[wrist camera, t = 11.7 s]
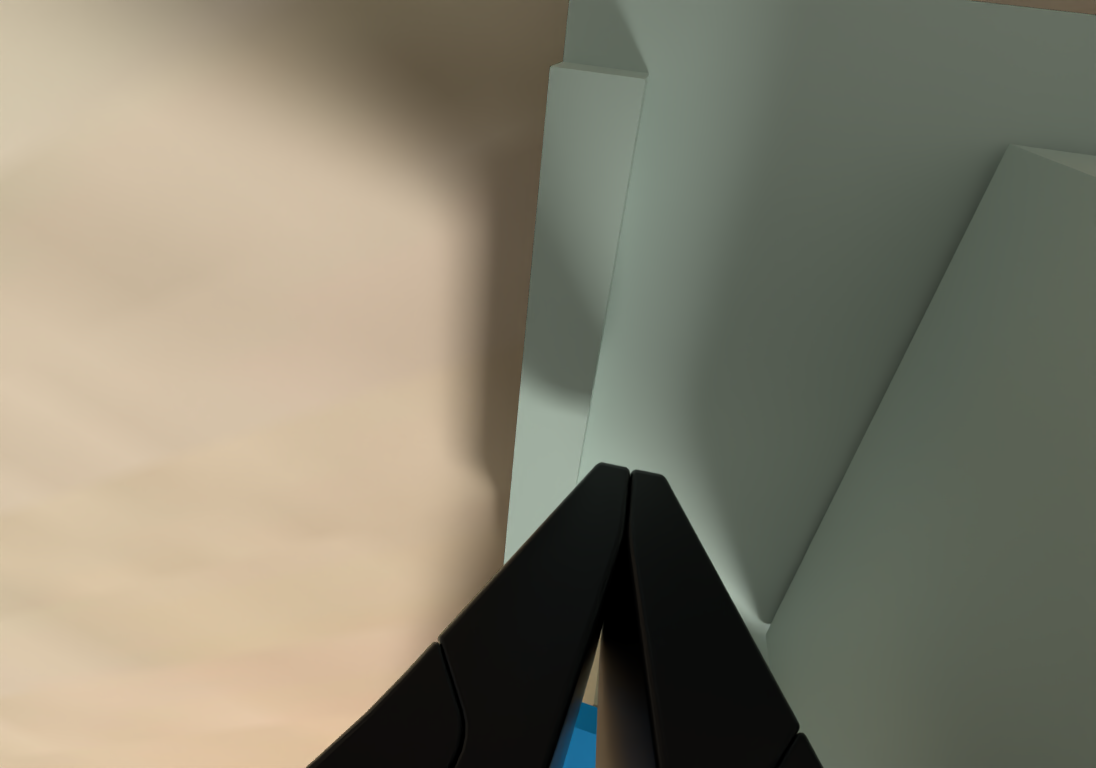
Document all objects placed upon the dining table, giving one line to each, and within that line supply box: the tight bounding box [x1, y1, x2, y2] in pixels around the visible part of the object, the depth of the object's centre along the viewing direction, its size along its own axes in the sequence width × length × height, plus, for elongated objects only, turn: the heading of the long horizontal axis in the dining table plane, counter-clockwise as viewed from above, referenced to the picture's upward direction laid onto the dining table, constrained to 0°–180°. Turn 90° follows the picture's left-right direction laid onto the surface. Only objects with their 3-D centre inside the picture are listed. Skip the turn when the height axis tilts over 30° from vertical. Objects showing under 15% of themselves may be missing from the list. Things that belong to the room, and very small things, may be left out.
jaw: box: [766, 144, 1096, 768], centre depth 6 cm, size 3×9×6 cm, turn 174°
